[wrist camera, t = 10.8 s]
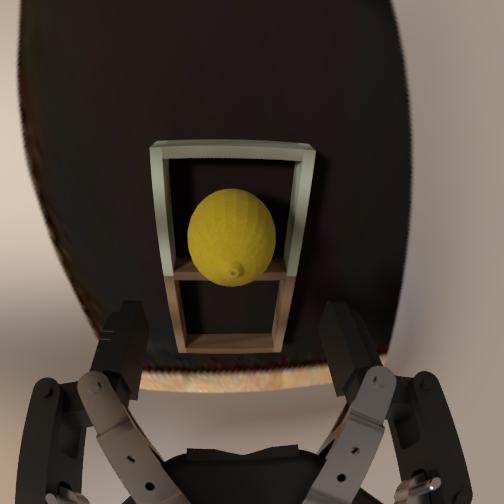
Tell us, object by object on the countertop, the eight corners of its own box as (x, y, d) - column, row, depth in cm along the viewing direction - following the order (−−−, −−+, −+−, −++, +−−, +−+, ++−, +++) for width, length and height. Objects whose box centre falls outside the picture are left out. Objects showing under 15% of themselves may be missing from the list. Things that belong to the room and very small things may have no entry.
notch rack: (157, 141, 18) (149, 147, 16) (308, 143, 19) (315, 150, 17) (180, 337, 29) (178, 352, 28) (278, 337, 30) (280, 351, 29)
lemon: (282, 202, 22) (306, 265, 15) (236, 250, 24) (240, 324, 17) (224, 158, 19) (221, 205, 13) (180, 214, 21) (160, 281, 15)
